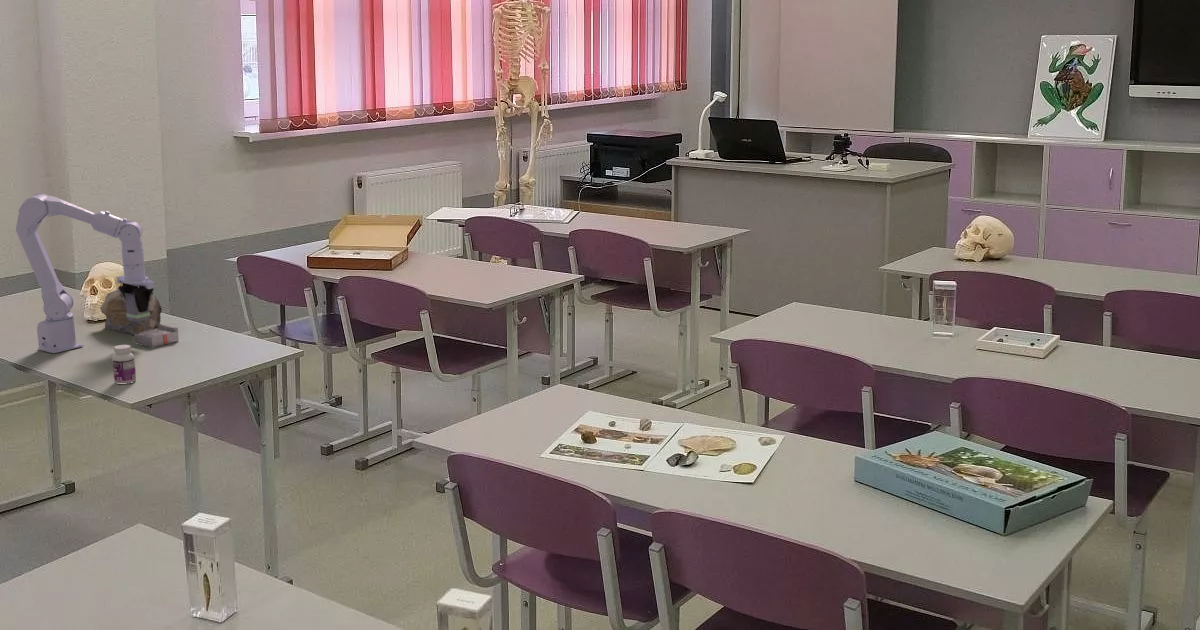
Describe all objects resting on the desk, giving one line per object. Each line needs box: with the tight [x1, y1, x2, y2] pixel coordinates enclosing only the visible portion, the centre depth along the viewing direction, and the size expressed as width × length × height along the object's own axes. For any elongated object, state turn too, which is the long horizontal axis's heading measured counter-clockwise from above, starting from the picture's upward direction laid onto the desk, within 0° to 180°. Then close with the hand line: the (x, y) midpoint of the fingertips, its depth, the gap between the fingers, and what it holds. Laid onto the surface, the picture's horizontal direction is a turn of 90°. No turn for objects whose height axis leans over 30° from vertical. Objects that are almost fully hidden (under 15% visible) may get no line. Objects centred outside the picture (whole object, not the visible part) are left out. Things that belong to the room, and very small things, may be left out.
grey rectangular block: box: [125, 291, 150, 322], centre depth 349 cm, size 5×5×8 cm
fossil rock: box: [99, 288, 163, 336], centre depth 367 cm, size 20×9×15 cm, turn 54°
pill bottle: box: [111, 344, 137, 384], centre depth 313 cm, size 5×5×10 cm
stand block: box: [134, 323, 180, 348], centre depth 353 cm, size 9×8×4 cm
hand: (138, 310), depth 349 cm, fingers closed on grey rectangular block, 4 cm apart
